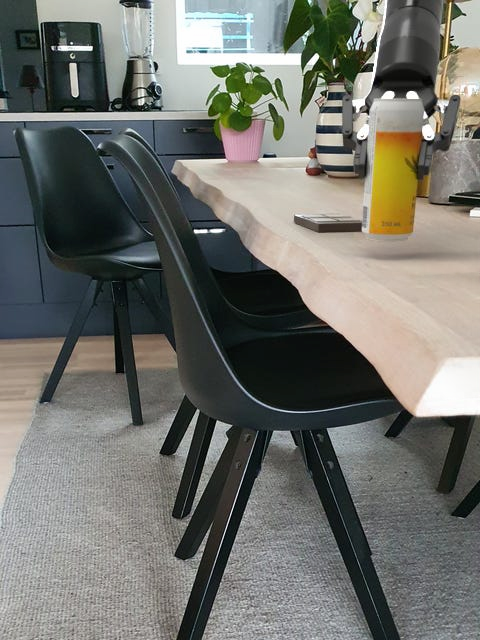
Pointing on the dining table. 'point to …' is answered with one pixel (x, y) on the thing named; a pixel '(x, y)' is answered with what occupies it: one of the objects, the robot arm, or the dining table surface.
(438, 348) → the dining table surface
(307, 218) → the grey grid tile
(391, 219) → the beer can
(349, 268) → the dining table surface
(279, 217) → the dining table surface
